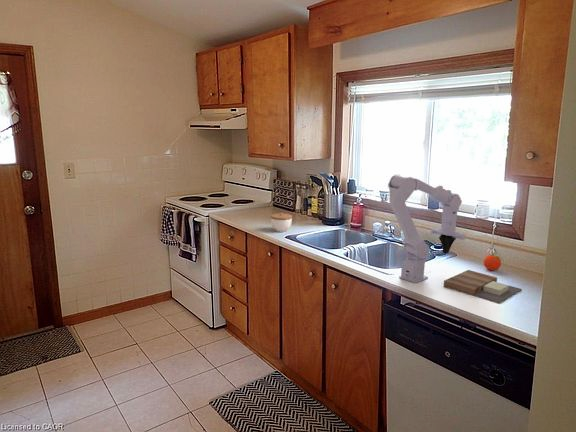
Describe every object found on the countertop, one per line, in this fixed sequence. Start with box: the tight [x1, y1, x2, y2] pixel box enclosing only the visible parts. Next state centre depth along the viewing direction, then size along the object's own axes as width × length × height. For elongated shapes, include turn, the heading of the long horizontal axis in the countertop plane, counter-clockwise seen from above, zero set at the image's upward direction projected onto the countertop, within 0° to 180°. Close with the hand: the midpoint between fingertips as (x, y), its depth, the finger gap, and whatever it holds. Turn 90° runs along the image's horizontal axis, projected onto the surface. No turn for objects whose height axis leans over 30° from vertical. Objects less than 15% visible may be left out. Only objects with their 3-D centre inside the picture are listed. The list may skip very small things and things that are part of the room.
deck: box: [443, 269, 498, 296], centre depth 169 cm, size 20×12×2 cm, turn 131°
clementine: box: [483, 254, 504, 272], centre depth 187 cm, size 8×7×7 cm
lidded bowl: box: [270, 211, 293, 233], centre depth 254 cm, size 13×13×11 cm
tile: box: [483, 281, 510, 295], centre depth 163 cm, size 8×6×2 cm
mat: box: [472, 285, 523, 304], centre depth 162 cm, size 20×10×1 cm, turn 131°
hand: (446, 252), depth 180 cm, fingers closed
